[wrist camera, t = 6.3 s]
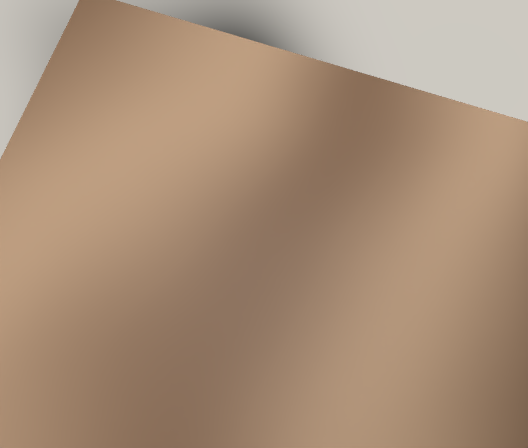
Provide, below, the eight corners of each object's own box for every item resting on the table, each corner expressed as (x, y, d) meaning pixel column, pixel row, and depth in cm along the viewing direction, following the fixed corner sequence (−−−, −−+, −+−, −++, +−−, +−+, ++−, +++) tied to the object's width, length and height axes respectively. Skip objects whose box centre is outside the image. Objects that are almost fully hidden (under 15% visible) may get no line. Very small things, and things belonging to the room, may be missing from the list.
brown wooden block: (334, 229, 19) (538, 125, 6) (304, 393, 17) (535, 747, 4) (186, 191, 18) (84, -9, 6) (134, 355, 16) (-234, 629, 3)
